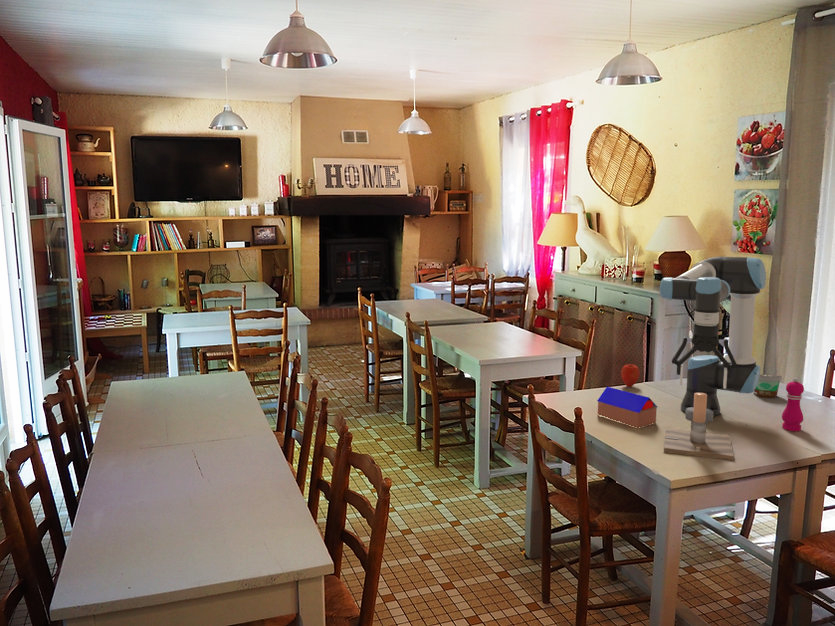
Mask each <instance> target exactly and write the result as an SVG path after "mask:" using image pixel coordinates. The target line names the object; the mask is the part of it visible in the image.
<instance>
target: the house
mask: <svg viewBox="0 0 835 626" xmlns="http://www.w3.org/2000/svg"><path fill="white" fill-rule="evenodd" d="M657 408H658V406H657V404H656V403H655V402H654V401H653V400H652V399H651V398H650V397H649V396H644V395H641V394H637V393H634V392H630V391H626V390H621V389H619V388H614V387H611V386H606V388H604V391H603V392H602V393H601V395H600V396H599V398H598V399H597V415H598V414H599V415H602V416H605V417H608V418H610V419H613V420H616V421H620V422H622V423H625V424H628V425H631V426H634V427H637V428H639V427H642V428H644V427H643V426H645V427H647V426H646V425H648V426H650V425H649V424H651V425H653V424H652V423H654V424H657ZM631 426H630V427H631ZM634 427H633V428H634ZM637 428H636V429H637ZM639 429H640V428H639Z"/></svg>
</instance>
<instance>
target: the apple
mask: <svg viewBox="0 0 835 626" xmlns="http://www.w3.org/2000/svg"><path fill="white" fill-rule="evenodd" d="M620 376H621V380H622V381H623V383H624V385H625V386H626V387H627V386H628V387H627V388H631V387H633V386H634V385H635V384H636V383H637V381H638V379H639V378H640V369H639V367H638V366H637V365H636V364H632V363H631V364H630V363H629V364H628V363H627V364H625V365H624V366H623V367H622V368H621V370H620Z"/></svg>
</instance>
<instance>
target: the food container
mask: <svg viewBox="0 0 835 626" xmlns="http://www.w3.org/2000/svg"><path fill="white" fill-rule="evenodd" d="M782 380H783V378H782V374H781V373H780V374H779V375H771V374H760V375H759V379H758V383H757V386H756V388H755V390H754V392H752V393H753V395H754V396H755V395H756V397H758V396H759V397H758V398H763V397H764V398H765V399H775V398H777V397H778V392H779V386H780V382H781V381H782Z"/></svg>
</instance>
